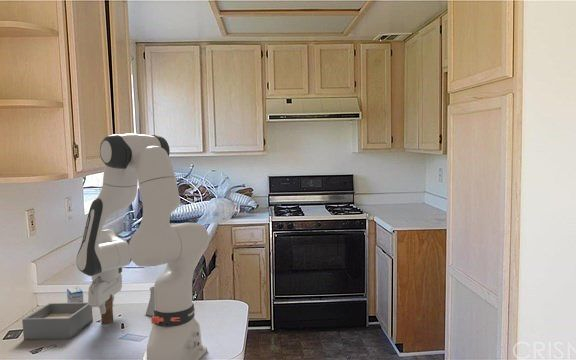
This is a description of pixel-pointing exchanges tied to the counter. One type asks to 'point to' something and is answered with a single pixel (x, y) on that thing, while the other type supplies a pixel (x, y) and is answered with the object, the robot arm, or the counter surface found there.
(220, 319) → the counter surface
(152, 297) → the flask
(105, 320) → the wooden peg
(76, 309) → the storage box
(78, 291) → the medicine box
